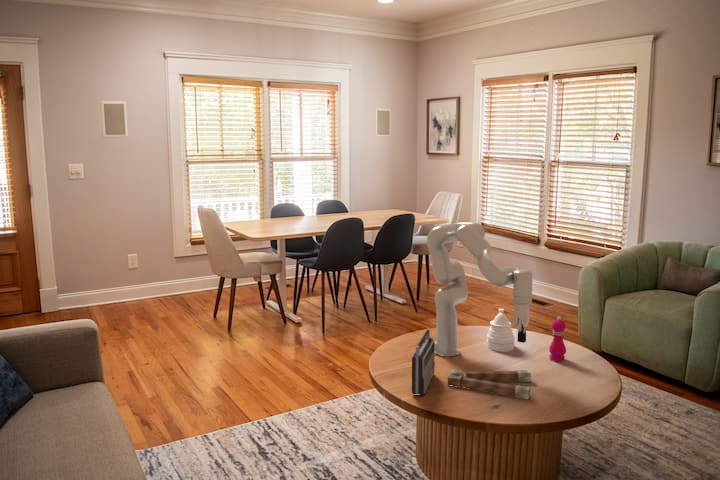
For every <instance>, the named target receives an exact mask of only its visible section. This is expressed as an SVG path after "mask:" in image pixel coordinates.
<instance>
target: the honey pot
mask: <svg viewBox="0 0 720 480" xmlns="http://www.w3.org/2000/svg"><path fill="white" fill-rule="evenodd" d="M504 310H505V309H504V308H498V314H497V315H495V317H494V318H493V320H491V321H490V322H489V324H490V327H489V330H488V332H487V334H486V348H488V349H489V350H492V351H496V352H511V351H513V350H514V349H515V334H514V333H513V329H512V327H511V326H512V323H511V322H510V321H509V319H508V317H507V316H506V314H505V313H504Z"/></svg>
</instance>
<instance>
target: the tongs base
mask: <svg viewBox="0 0 720 480" xmlns="http://www.w3.org/2000/svg"><path fill="white" fill-rule="evenodd" d="M448 385H453V386H457V387H456V388H459V387H460V386H461V387H465V388H464V389H467V388H469V390H473V389H474V391H480V392H485V393H490V394H497V395H500V396H501V395H502V396H507V397H513V398H516V399H524V400H529V399H530V395H531V394H530V393H531V387H530V386H525V385H519V384H518V385H515V384H514V385H513V384H507V383H506V384H505V383H503V382H502V383H501V382H490V381H484V380H478V379H472V378H466V376H465V375H464V371H463V370H461V369H451V370H450V374H449V376H447V386H448ZM453 386H452V387H453ZM461 387H460V388H461Z"/></svg>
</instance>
